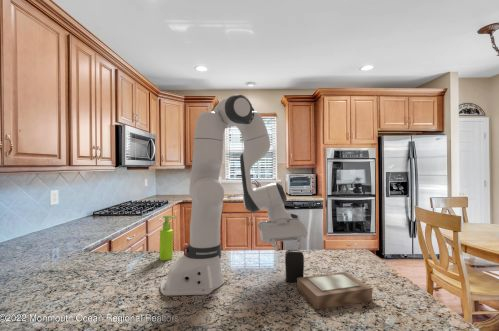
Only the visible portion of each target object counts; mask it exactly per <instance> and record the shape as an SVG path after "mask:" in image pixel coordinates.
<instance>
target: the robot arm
mask: <svg viewBox="0 0 499 331" xmlns="http://www.w3.org/2000/svg"><path fill="white" fill-rule="evenodd" d="M252 105H253V104H252V103H251V101H250V100H249V98H248V97H246V96H245V95H243V94H234V95H231V96H229V97H228V98H225V99H222V100H221V101H220V102H218V103H217V104H215V105H214V106H213V107H212V109H211V111H209V110H207V111H203V112H201V113H200V114H198V117H197V120H196V124H195V128H194V133H193V135H194V136H193V150H192V163H191V170H190V179H189V188H188V189H189V191H188V192H189V197H190V198H191V211H190V212H191V213H190V221H189V222H190V223H189V244H188V243H186V242H185V243H183V244H182V249H183V255H182V256H180V257H179V258H178V259H177V260H176V261H175V262H173V263H172V264H171V265H170V266H169V268H168V272H167V275H166V276H165V277H164V278H163V279H162V280H161V282H160V287H159V289H160V290H159V291H160V293H161V295H163V296H166V297H167V296H168V297H169V296H195V295H196V296H197V295H198V296H199V295H201V296H203V295H210V294H211V293H212V292H213V291H214V290H216V289H218V288H220V287H222V285H223V284H224V283H225V280H224V276H223V271H222V265H221V258H222V243H221V218H222V212H223V205H224V199H225V190H224V186H223V184H222V183H221V182H220V181H219V178H220V173H221V168H222V164H223V155H224V154H223V153H224V152H223V151H224V136H225V135H224V133H225V129H228V128H231V127H232V128H233V127H236V128H237V129H238V130H239V132H240V134H241V139H242V142H243V152H242V153H241V154H240V157H239V163H240V174H241V183H242V191H243V193H242V195H243V196H242V202H243V206H244V208H245V209H246V211H248V212H250V213H256V212H257V213H258V212H259V211H261V210H265V211H266V212H267V216H268V220H266V221H265V220H264V221H260V222H258V224H257V228H258V230H259V233H260V234H259V235H260V240H261V242H262V243H270V245H271V246H272V247H273V248H274V250H275V252H280V251H281V247H280V245H278V244H277V243H278V242H287V241H296V242H297V244H296V246H295V247H296V250H301V249H302V248H303V246H302V241H304V240H306V238H307V236H308V234H309V233H308V230H307V228H306V226H305V224H304V222H303V221H302V220H300V219H301V216H300V215H298V214H295V213H291V212H288V210H287V209H286V208H285V204H286V202H287V195H286V192H285V190H284V187H283V185H281V184H280V183H278V182H271V183H269V184H265V185H262V186H259V187H255V188H253V186H252V176H251V169H252V167H253V166H254V165H256V163H258V162H259V161H261V160H262V159H263V158H264V157H265V156H266V155H267V154H268V153H269V151H270V148H271V141H270V135H269V132H268V129H267V127H266V124H265V122H264V120H263V117H262V114H261V113H259V112H258V111H256V110H255V109H254V107H253V106H252Z"/></svg>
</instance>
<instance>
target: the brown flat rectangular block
mask: <svg viewBox="0 0 499 331" xmlns="http://www.w3.org/2000/svg"><path fill="white" fill-rule="evenodd" d="M296 290H297V291H298V292H299V293H300V294H301V295H302V296H303V297H304V298H305V299H306V300H307V301H308V302H309V303H310V304H311V305H312V307H314V308H315V309H316V310H323V309H329V308H336V307H341V306H348V305H355V304H359V303H360V304H361V303H365V302H371V301H373V288H372V287H371V286H370V285H368V284H366V283H364V282H363V281H362V280H360V279H358V278H356V277H355V276H353V275H352V274H350V273H348V272H347V271H343V272H334V273H328V274H327V273H326V274H318V275H316V274H315V275H309V276H303V277H300V278H297V283H296Z"/></svg>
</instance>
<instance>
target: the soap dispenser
mask: <svg viewBox="0 0 499 331" xmlns="http://www.w3.org/2000/svg"><path fill="white" fill-rule="evenodd" d="M162 218H164V222H162V229H161V230H159V254H158V255H159V256H158V257H159V260H160V261H169V260H172V259H173V255H174V253H173V252H174V251H173V250H174V249H173V248H174V246H173V244H174V230H173V229H171V222H169V221H170V220H169V219H175V218H176V216H174V215H164V216H162Z"/></svg>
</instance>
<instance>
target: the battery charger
mask: <svg viewBox="0 0 499 331" xmlns="http://www.w3.org/2000/svg"><path fill="white" fill-rule="evenodd" d="M284 254H285V255H284V267H285V269H284V270H285V278H284V279H285V282H286V283H296V284H297V278H300V277H304V274H305V273H304V271H305V269H304V268H305V257H304V253H303V252H302V251H301V249H287V250H286V251H285V253H284Z"/></svg>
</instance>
